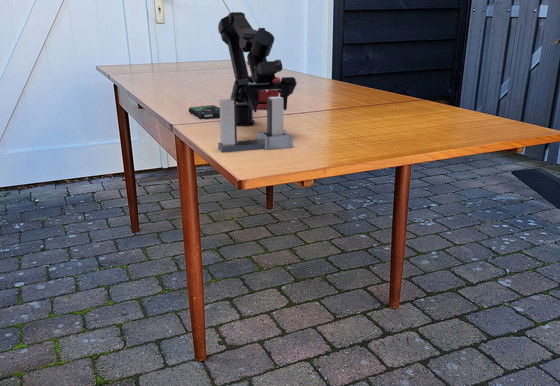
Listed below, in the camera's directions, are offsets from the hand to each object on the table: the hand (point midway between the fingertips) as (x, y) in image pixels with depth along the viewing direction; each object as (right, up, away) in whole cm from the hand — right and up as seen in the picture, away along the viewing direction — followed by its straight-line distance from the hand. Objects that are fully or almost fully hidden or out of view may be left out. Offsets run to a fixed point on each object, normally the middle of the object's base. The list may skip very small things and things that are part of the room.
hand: (270, 110), depth 157 cm
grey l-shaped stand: (-5, -11, -2) cm, 12 cm away
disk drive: (-24, +4, +42) cm, 49 cm away
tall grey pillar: (+1, -9, -1) cm, 9 cm away
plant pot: (-4, +10, +58) cm, 59 cm away
